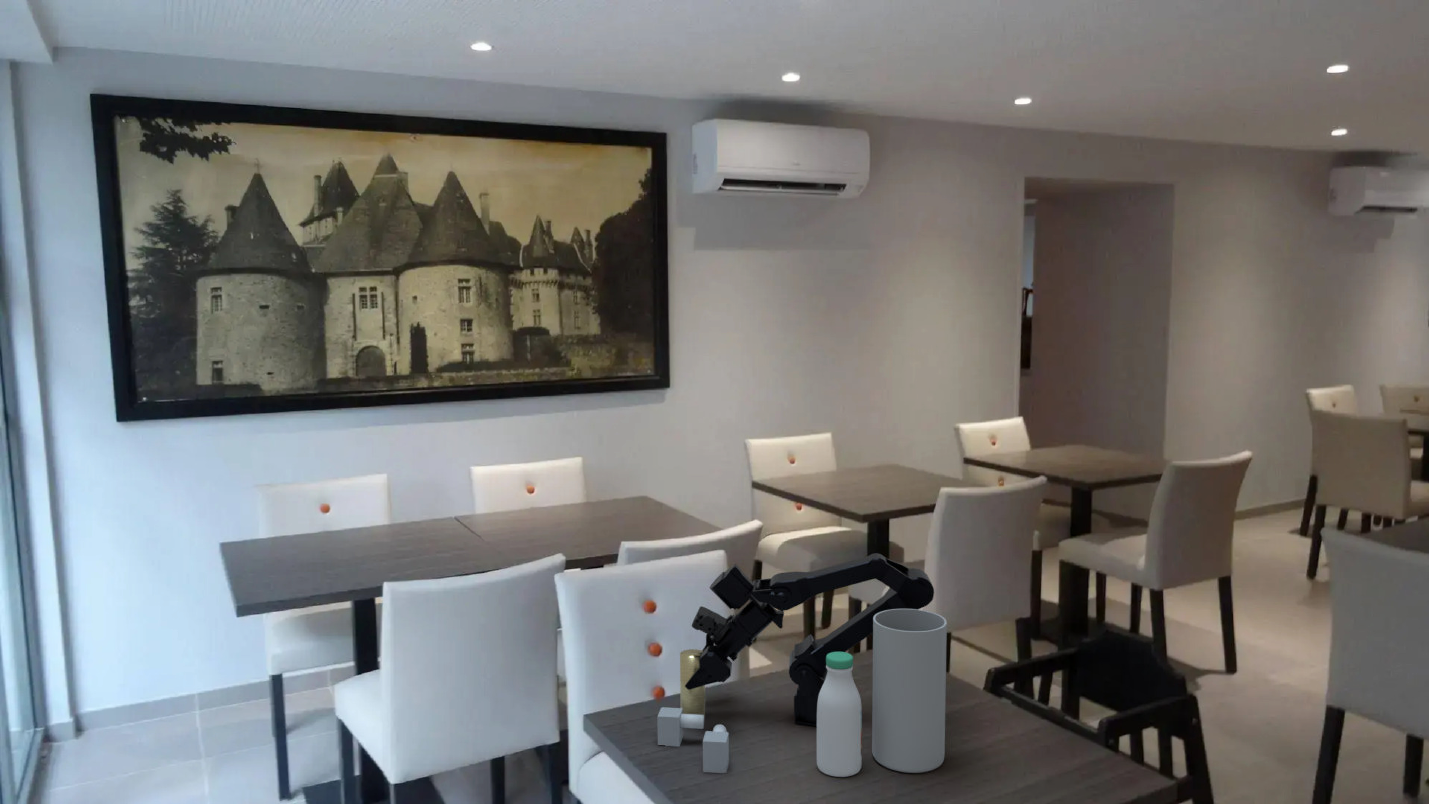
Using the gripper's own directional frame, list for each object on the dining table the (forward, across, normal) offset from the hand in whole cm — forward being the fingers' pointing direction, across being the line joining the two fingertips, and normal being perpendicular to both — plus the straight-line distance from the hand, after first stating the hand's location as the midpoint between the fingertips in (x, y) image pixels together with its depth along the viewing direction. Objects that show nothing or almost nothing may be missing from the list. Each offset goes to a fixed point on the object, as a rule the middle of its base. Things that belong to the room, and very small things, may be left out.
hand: (689, 678), depth 189 cm
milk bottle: (-15, +19, +25) cm, 35 cm away
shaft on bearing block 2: (0, +19, +10) cm, 22 cm away
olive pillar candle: (+5, 0, +6) cm, 8 cm away
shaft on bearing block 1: (+5, +11, +5) cm, 14 cm away
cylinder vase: (-24, +15, +34) cm, 44 cm away
